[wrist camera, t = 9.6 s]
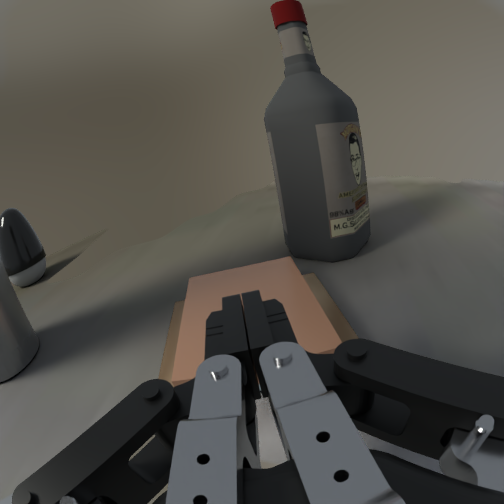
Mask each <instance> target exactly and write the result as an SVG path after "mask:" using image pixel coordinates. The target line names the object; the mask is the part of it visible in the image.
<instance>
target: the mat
mask: <svg viewBox="0 0 504 504" xmlns="http://www.w3.org/2000/svg"><path fill="white" fill-rule="evenodd" d="M302 276H303V278H304V279H305V281H306V283H307V284H308V286H309V288H310V289H311V291H312V293H313V294H314V296H315V297H316V299H317V301H318V302H319V304H320V306H321V307H322V309H323V311H324V313H325V314H326V316H327V318H328V319H329V321H330V323H331V324H332V326H333V328H334V329H335V331H336V333H337V335H338V336H339V338H340V340H341V341H342V343H343V342H345V341H347V340H350V339H359V338H358V336H357V335H356V333H355V332H354V330H353V329H352V327H351V326H350V324H349V323H348V321H347V320H346V319H345V317H344V316H343V314H342V313H341V311H340V310H339V308H338V307H337V305H336V304H335V302H334V301H333V300H332V298H331V297H330V295H329V294H328V292H327V291H326V289H325V288H324V287H323V285H322V284H321V282H320V281H319V279H318V278H317V277H316V275H315V274H314V273H309V274H305V275H302ZM184 303H185V300H183V301H178V302H175V306H174V310H173V314H172V318H171V322H170V327H169V331H168V336H167V340H166V345H165V349H164V354H163V359H162V363H161V368H160V373H159V378H158V379H163V380H166V381H168V382H170V383H171V385H172V386H173V384H172V382H171V380H172V374H173V367H174V361H175V355H176V349H177V343H178V337H179V331H180V325H181V320H182V314H183V309H184ZM173 387H174V386H173Z"/></svg>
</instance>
